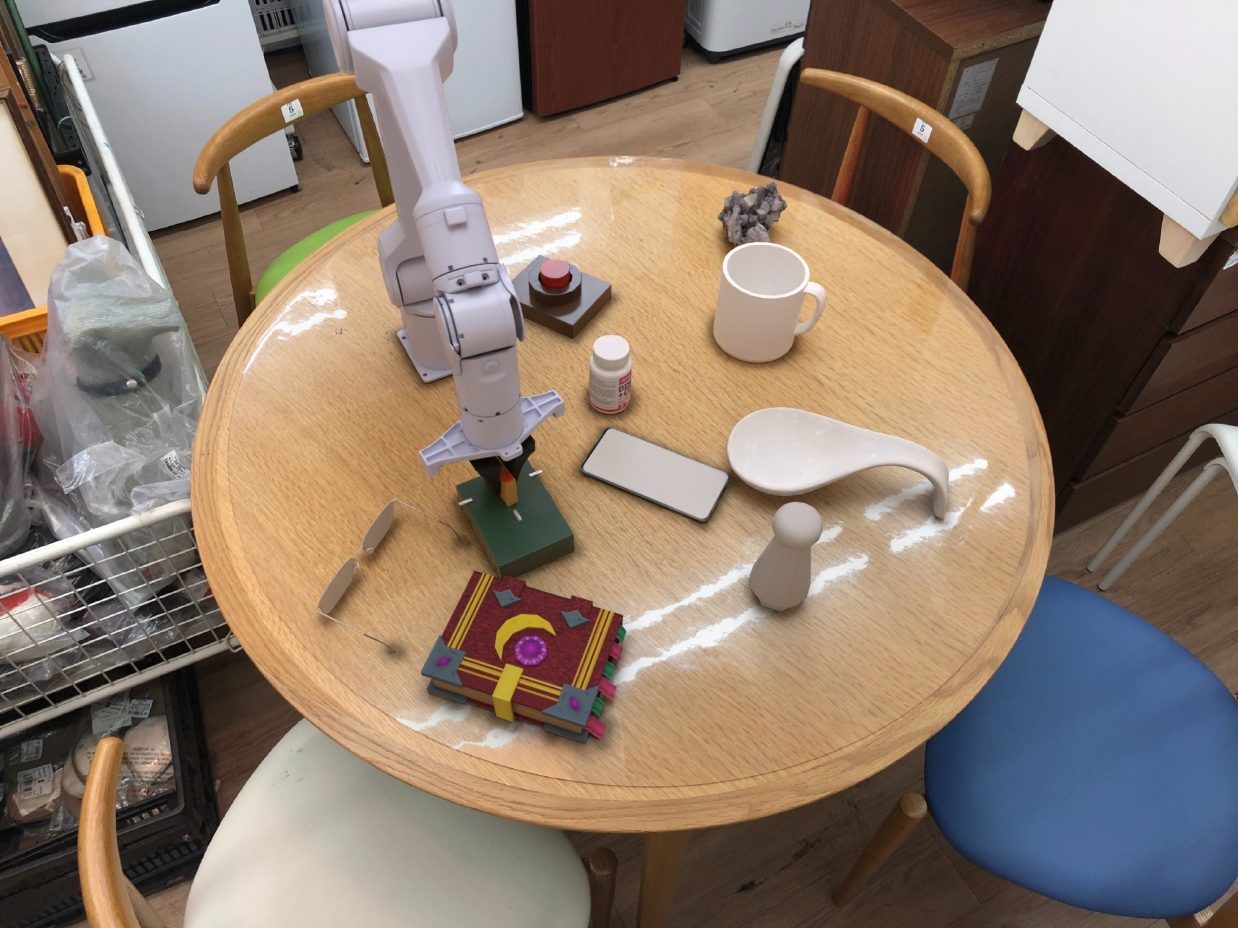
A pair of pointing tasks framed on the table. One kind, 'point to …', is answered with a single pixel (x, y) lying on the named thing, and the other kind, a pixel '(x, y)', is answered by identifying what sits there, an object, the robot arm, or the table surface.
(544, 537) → the dark green flat block
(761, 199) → the mineral specimen
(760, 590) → the salt shaker
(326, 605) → the eyeglasses
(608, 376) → the pill bottle
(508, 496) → the red-dot tan block
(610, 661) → the decorative book
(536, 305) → the dark button base
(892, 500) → the table surface
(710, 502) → the smartphone
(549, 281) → the button
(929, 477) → the spoon rest
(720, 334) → the mug
